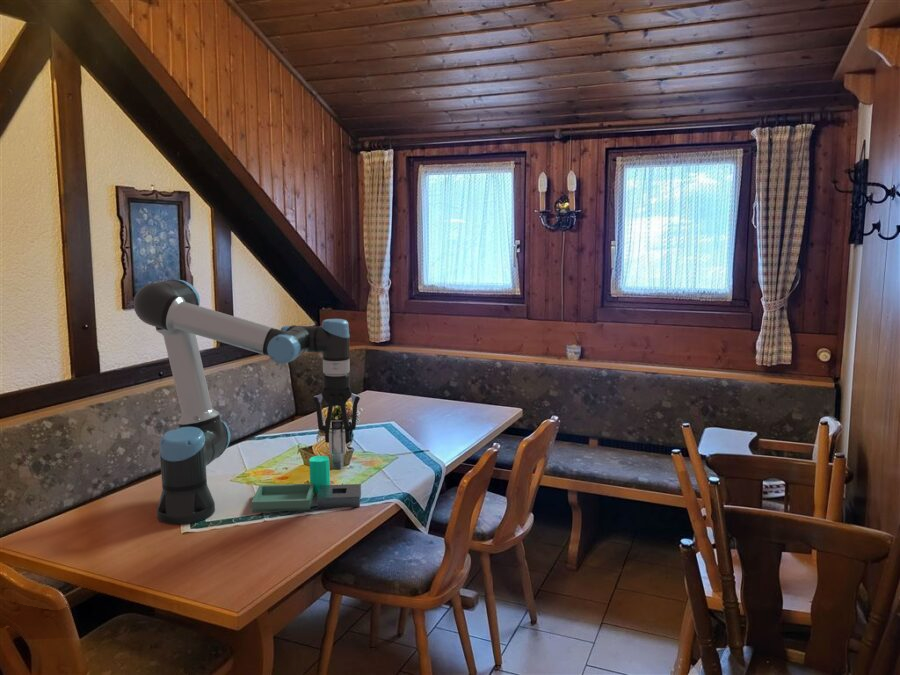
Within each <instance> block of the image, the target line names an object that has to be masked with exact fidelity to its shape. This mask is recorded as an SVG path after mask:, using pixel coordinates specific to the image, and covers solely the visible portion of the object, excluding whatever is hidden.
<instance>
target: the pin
mask: <svg viewBox="0 0 900 675" xmlns="http://www.w3.org/2000/svg"><path fill="white" fill-rule="evenodd" d="M331 430H332V455H331V459H332V460H331V462H332V463H331V464H332V465H331V466H332V467H331V468H332V470H334V471H341V470H343V469H344V468H345V467H344V454H343V430H344V422H343V419H333V420H331Z"/></svg>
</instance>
